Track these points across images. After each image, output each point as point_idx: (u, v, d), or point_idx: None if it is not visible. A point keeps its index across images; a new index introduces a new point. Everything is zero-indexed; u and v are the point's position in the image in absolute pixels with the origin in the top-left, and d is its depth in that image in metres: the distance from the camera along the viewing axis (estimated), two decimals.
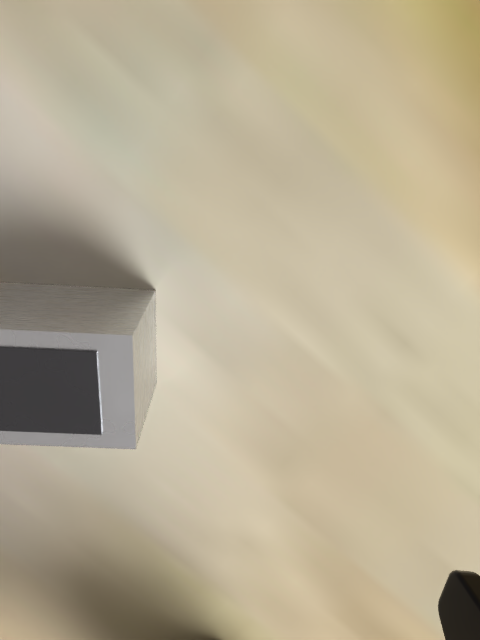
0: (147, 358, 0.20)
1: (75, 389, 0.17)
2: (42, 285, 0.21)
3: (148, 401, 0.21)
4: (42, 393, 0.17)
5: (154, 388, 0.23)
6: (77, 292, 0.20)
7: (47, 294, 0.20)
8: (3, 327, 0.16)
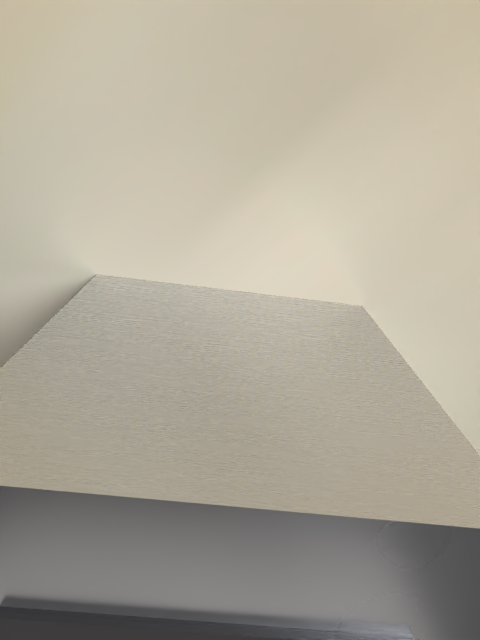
0: (221, 345, 0.06)
1: None
2: None
3: (380, 360, 0.06)
4: None
5: (368, 319, 0.08)
6: None
7: None
8: None
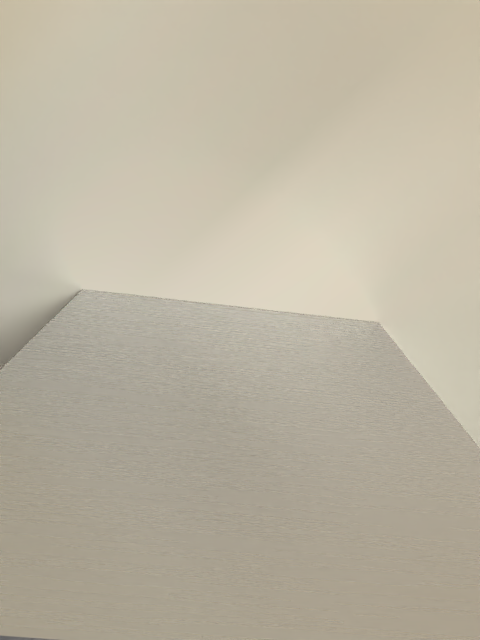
0: (221, 383, 0.05)
1: None
2: None
3: (411, 399, 0.05)
4: None
5: (390, 342, 0.07)
6: None
7: None
8: None
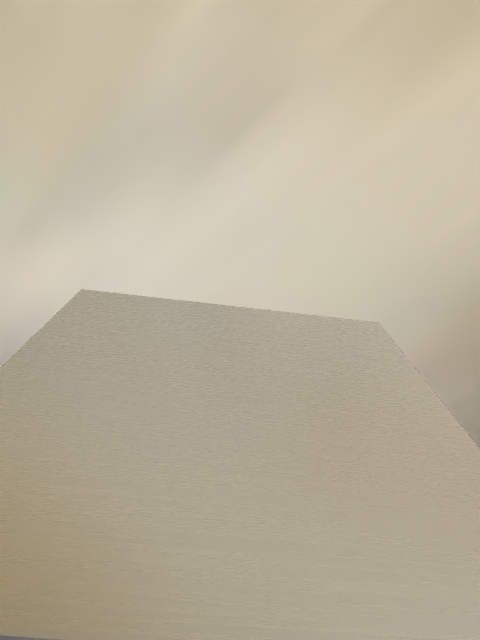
0: (220, 383, 0.05)
1: None
2: None
3: (411, 399, 0.05)
4: None
5: (390, 342, 0.07)
6: None
7: None
8: None
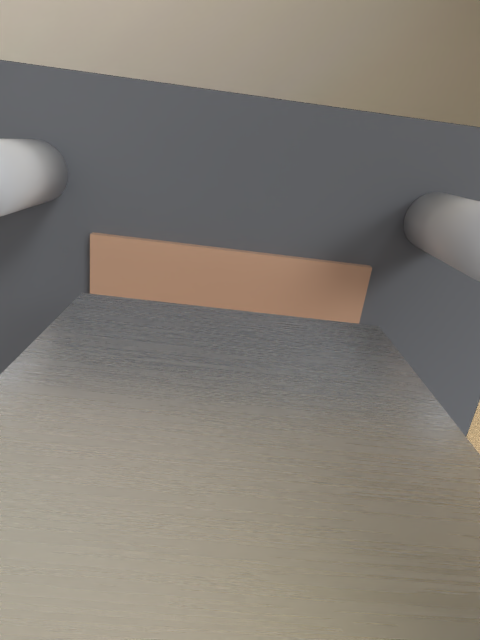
0: (221, 387, 0.05)
1: None
2: None
3: (411, 404, 0.05)
4: None
5: (390, 346, 0.07)
6: None
7: None
8: None
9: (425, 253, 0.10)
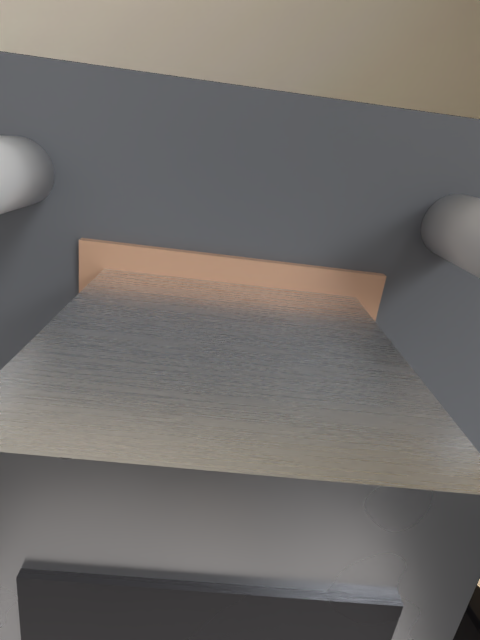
0: (222, 334, 0.06)
1: None
2: None
3: (373, 349, 0.07)
4: None
5: (363, 311, 0.08)
6: None
7: None
8: None
9: (444, 260, 0.09)
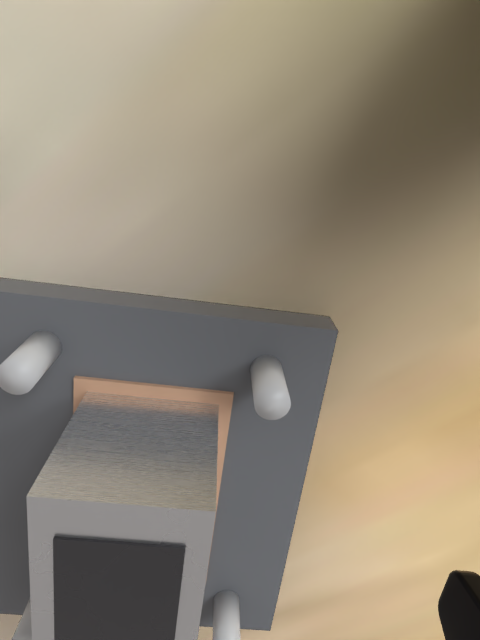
0: (137, 438, 0.15)
1: (114, 565, 0.13)
2: None
3: (206, 443, 0.15)
4: (116, 598, 0.13)
5: (216, 416, 0.17)
6: None
7: None
8: (33, 614, 0.14)
9: None
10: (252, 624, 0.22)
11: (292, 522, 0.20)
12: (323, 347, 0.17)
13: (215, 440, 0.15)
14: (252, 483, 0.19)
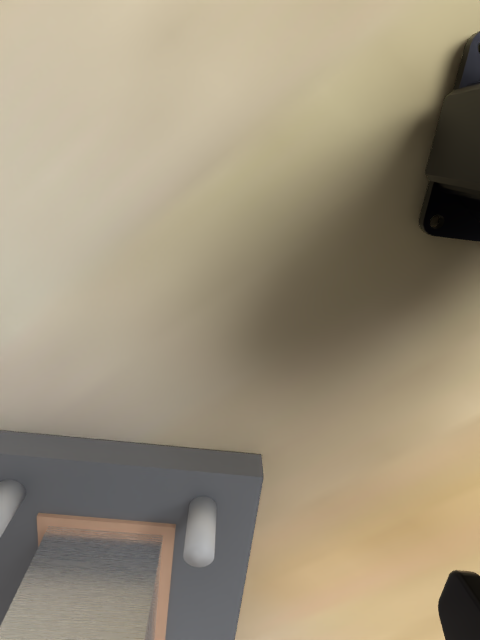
0: (84, 584, 0.17)
1: None
2: None
3: (143, 587, 0.18)
4: None
5: (158, 550, 0.19)
6: None
7: None
8: None
9: None
10: None
11: (235, 623, 0.23)
12: (251, 490, 0.19)
13: (152, 582, 0.18)
14: (198, 593, 0.22)
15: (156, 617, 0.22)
